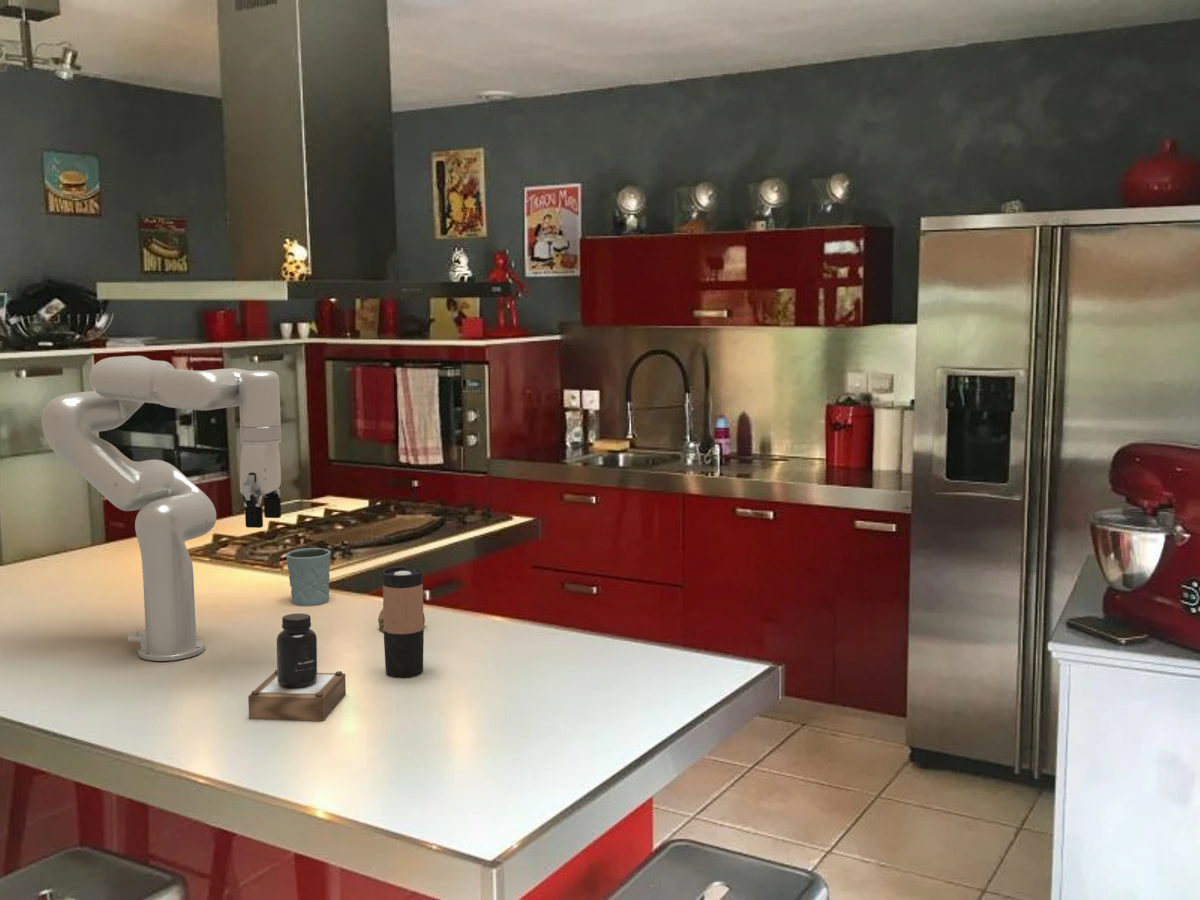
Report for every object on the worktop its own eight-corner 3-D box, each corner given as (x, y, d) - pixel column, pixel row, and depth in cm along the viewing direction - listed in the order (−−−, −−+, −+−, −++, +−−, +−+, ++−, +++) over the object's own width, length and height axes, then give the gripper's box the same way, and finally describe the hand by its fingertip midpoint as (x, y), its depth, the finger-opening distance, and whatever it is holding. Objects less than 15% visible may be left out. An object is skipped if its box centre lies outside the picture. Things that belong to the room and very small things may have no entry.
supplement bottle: (306, 690, 196) (304, 623, 195) (270, 687, 198) (268, 620, 196) (324, 677, 203) (322, 612, 201) (289, 675, 204) (287, 610, 203)
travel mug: (391, 680, 214) (389, 577, 212) (379, 669, 221) (377, 568, 218) (429, 674, 218) (428, 572, 215) (417, 663, 224) (415, 564, 222)
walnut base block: (249, 718, 195) (248, 693, 194) (276, 692, 207) (275, 668, 207) (323, 720, 194) (322, 695, 193) (345, 694, 206) (345, 670, 206)
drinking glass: (340, 600, 272) (339, 551, 270) (308, 609, 263) (307, 559, 262) (310, 594, 277) (309, 546, 276) (278, 603, 269) (276, 553, 267)
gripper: (258, 429, 227) (261, 513, 229) (223, 440, 210) (227, 530, 212) (295, 430, 227) (297, 514, 229) (263, 440, 210) (266, 531, 212)
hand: (263, 522), depth 221 cm, fingers open, 9 cm apart
